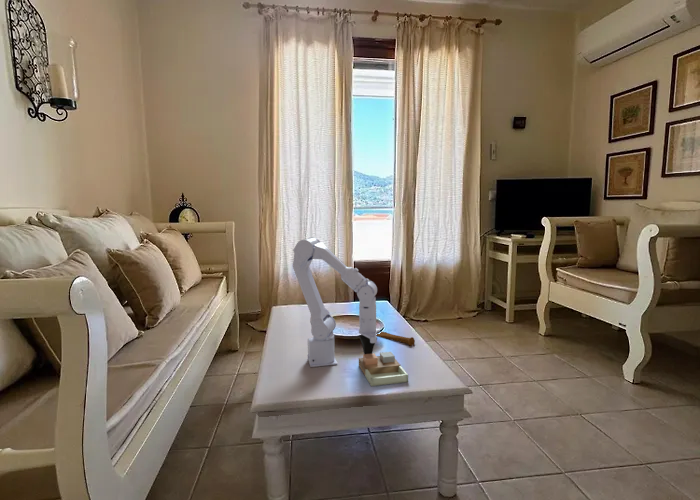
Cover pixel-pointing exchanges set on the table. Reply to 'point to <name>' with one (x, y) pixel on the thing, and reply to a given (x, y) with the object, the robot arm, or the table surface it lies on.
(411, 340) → the primitive tool
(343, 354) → the table surface
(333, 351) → the robot arm
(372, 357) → the terracotta tile
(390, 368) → the walnut board
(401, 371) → the tray
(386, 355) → the slate tile
